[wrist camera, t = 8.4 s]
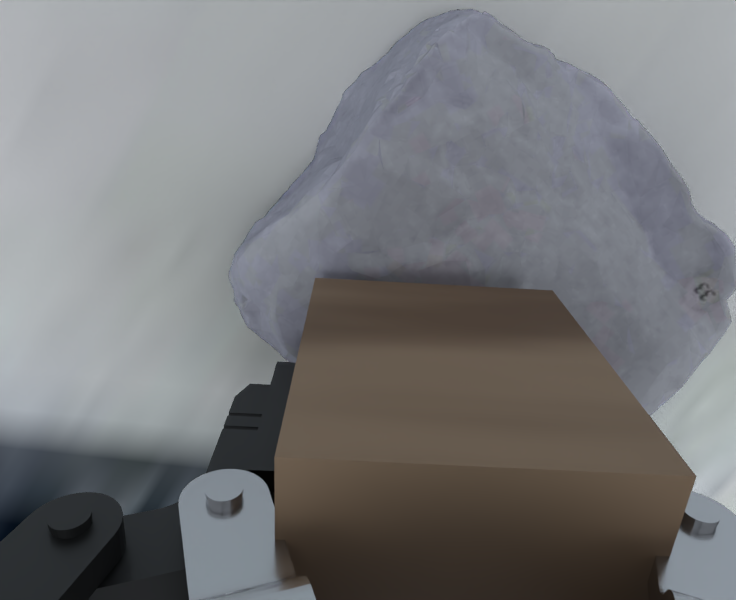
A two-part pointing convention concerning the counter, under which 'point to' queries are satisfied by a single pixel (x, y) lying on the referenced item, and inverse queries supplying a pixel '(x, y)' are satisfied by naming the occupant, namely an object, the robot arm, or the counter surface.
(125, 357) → the counter surface
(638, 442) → the walnut block
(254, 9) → the counter surface
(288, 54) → the counter surface
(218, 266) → the counter surface
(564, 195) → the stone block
